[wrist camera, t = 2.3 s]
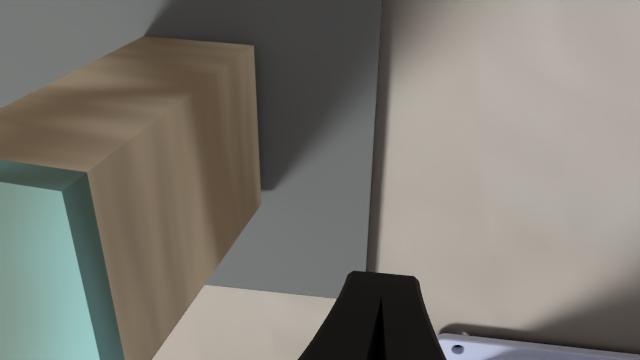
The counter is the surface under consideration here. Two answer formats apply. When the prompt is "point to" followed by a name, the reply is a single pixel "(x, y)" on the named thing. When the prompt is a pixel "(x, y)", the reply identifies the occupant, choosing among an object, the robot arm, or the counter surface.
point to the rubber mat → (272, 114)
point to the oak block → (123, 196)
